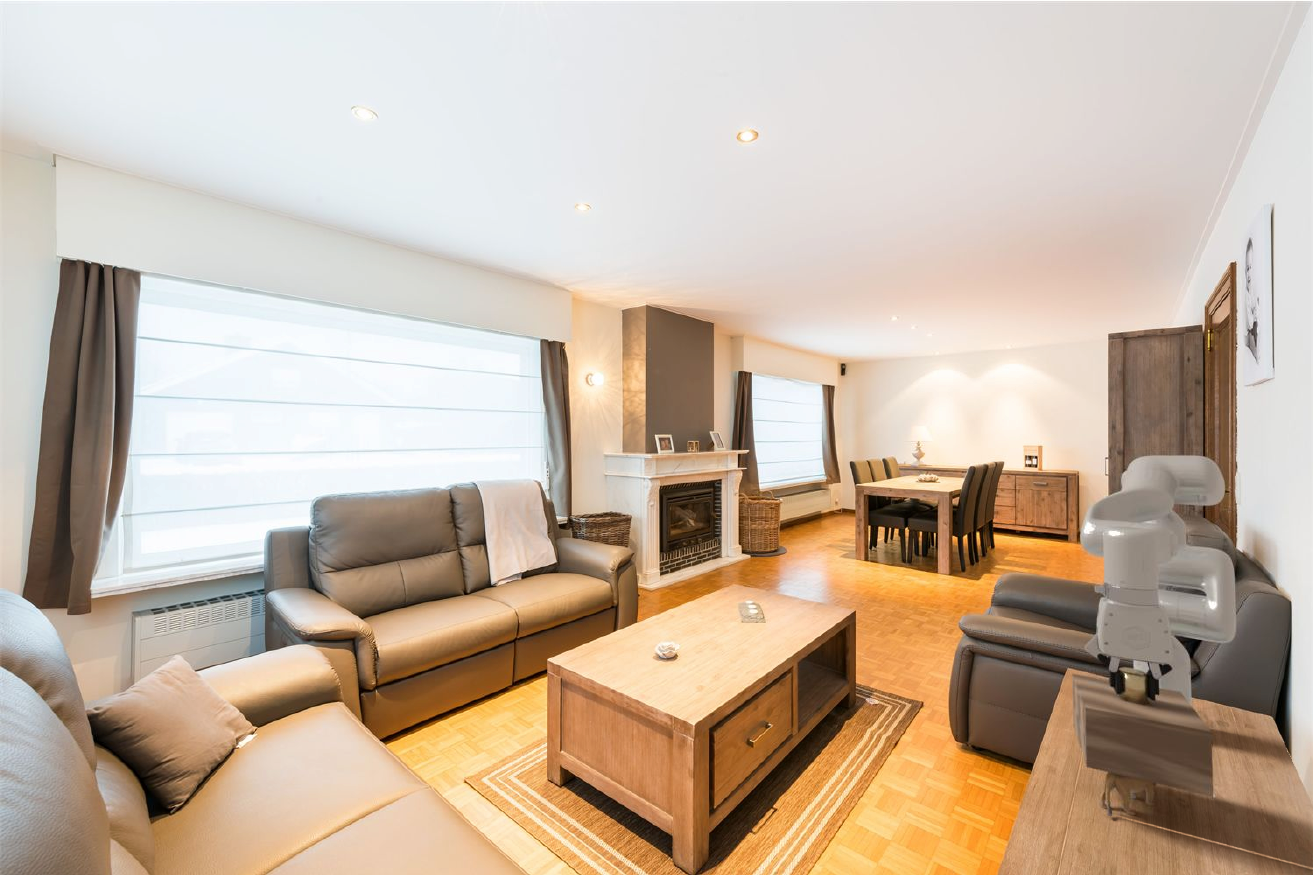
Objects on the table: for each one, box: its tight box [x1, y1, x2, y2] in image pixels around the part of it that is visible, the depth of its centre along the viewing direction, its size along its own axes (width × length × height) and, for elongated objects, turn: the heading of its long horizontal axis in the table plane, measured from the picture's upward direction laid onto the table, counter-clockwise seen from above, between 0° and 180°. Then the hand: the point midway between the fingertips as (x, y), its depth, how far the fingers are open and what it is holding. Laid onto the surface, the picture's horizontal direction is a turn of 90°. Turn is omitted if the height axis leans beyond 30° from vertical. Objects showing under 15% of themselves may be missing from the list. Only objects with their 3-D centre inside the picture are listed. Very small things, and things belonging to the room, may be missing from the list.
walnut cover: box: [1071, 667, 1214, 798], centre depth 98 cm, size 16×16×16 cm
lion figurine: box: [1099, 772, 1157, 817], centre depth 97 cm, size 15×5×9 cm, turn 118°
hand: (1133, 693), depth 98 cm, fingers closed on walnut cover, 4 cm apart
